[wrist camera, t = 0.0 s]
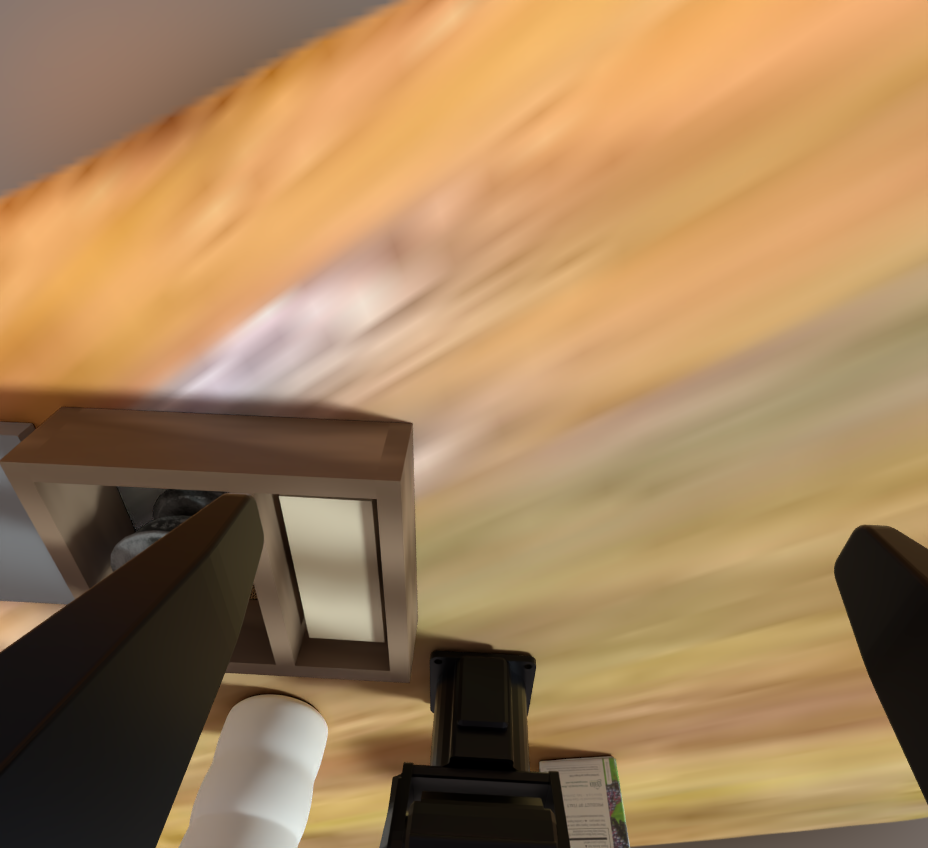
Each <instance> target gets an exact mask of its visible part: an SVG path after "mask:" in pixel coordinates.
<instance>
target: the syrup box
mask: <svg viewBox="0 0 928 848" xmlns="http://www.w3.org/2000/svg"><path fill="white" fill-rule="evenodd" d="M549 771H558V772H559V777H560V783H561V790H562V796H563V802H564V809H565V815H566V821H567V828H568V834H569V840H570V847H571V848H630V845H629V839H628V833H627V827H626V820H625V814H624V807H623V801H622V795H621V789H620V783H619V777H618V771H617V765H616V759H615V758H614V757H612V756H607V757H592V758H575V759H563V760H551V761H540V762H539V772H547V773H548V772H549Z"/></svg>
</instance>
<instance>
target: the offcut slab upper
mask: <svg viewBox="0 0 928 848" xmlns="http://www.w3.org/2000/svg"><path fill="white" fill-rule="evenodd" d="M279 499H280V503H281V508H282V513H283V517H284V522H285V527H286V531H287V536H288V541H289V545H290V550H291V555H292V559H293V564H294V568H295V573H296V578H297V582H298V587H299V592H300V596H301V601H302V606H303V610H304V615H305V620H306V624H307V629H308V633H309V638H324V639H340V640H355V641H371V642H385V637H386V632H387V624H386V612H385V599H384V586H383V573H382V561H381V548H380V535H379V523H378V510H377V499H365V498H345V497H324V496H304V495H284V494H280V495H279Z"/></svg>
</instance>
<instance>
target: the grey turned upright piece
mask: <svg viewBox="0 0 928 848" xmlns="http://www.w3.org/2000/svg"><path fill="white" fill-rule="evenodd" d="M223 494H225V493H223V492H221V491H204V490H183V489H169V490H167V491H166V492H164V493H163V494H162V495H161V496H159V498H158V499H157V501H156V503H155V505H154V511H153V517H154V520H153V521H152V522H150V523H148V524H146V525H145V526H143V527H141V528H140V529H139V530H137V531H136V532H135V533H133V534H132V535H129V536H126V537H125V538H123V539H122V540H121V541H120V542H118V543H117V544H116V545H115V547H114V549H113V551H112V553H111V563H110V565H111V568H112V571H113V572H114V571H116V570H117V569H118V568H120V567H121V566H123V565H124V564H125V563H127V562H128V561H130V560H131V559H132V558H134V557H135V556H137V555H138V554H139V553H141V552H142V551H144V550H145V549H147V548H148V547H149V546H151V545H152V544H154V543H155V542H156V541H158V540H159V539H161V538H162V537H163V536H165V535H166V534H168V533H169V532H170V531H172V530H173V529H175V528H176V527H178V526H179V525H180V524H182V523H183V522H185V521H186V520H187V519H189V518H190V517H192V516H193V515H194V514H196V513H197V512H199V511H200V510H201V509H203V508H204V507H206V506H207V505H209V504H210V503H211V502H213V501H214V500H216V499H217V498H218V497H220V496H221V495H223Z"/></svg>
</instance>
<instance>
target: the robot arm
mask: <svg viewBox="0 0 928 848" xmlns="http://www.w3.org/2000/svg"><path fill="white" fill-rule="evenodd" d="M263 545H264V531H263V527H262V523H261V519H260V515H259V510H258V506H257V502H256V500H255V498H254V496H252V495H250V494H242V493H226V494H223V495H221V496H220V497H218V498H217V499H216V500H214V501H213V502H211V503H210V504H209V505H207V506H206V507H204V508H203V509H201V510H200V511H199V512H197V513H196V514H194V515H193V516H192V517H190V518H189V519H187V520H186V521H185V522H183V523H182V524H180V525H179V526H178V527H176V528H175V529H173V530H172V531H170V532H169V533H168V534H166V535H165V536H163V537H162V538H161V539H159V540H158V541H156V542H155V543H154V544H152V545H151V546H149V547H148V548H147V549H145V550H144V551H142V552H141V553H139V554H138V555H137V556H135V557H134V558H132V559H131V560H130V561H128V562H127V563H125V564H124V565H123V566H121V567H120V568H118V569H117V570H116V571H114V572H113V573H111V574H110V575H108V576H107V577H106V578H104V579H103V580H101V581H100V582H99V583H97V584H96V585H94V586H93V587H92V588H90V589H89V590H87V591H86V592H85V593H83V594H82V595H80V596H79V597H77V598H76V599H75V600H73V601H72V602H70V603H69V604H68V605H66V606H65V607H63V608H62V609H61V610H59V611H58V612H56V613H55V614H54V615H52V616H51V617H49V618H48V619H46V620H45V621H44V622H42V623H41V624H39V625H38V626H37V627H35V628H34V629H32V630H31V631H30V632H28V633H27V634H25V635H24V636H23V637H21V638H20V639H18V640H17V641H15V642H14V643H13V644H11V645H10V646H8V647H7V648H6V649H4V650H3V651H1V652H0V848H156V845H157V843H158V840H159V838H160V835H161V833H162V830H163V828H164V825H165V823H166V820H167V818H168V815H169V813H170V810H171V808H172V805H173V803H174V800H175V798H176V795H177V792H178V790H179V787H180V785H181V782H182V780H183V777H184V775H185V772H186V770H187V767H188V765H189V762H190V760H191V757H192V755H193V752H194V750H195V747H196V745H197V742H198V740H199V737H200V735H201V732H202V730H203V727H204V725H205V722H206V719H207V717H208V714H209V712H210V709H211V707H212V704H213V702H214V699H215V697H216V694H217V692H218V689H219V687H220V684H221V682H222V679H223V677H224V674H225V672H226V669H227V667H228V664H229V662H230V659H231V657H232V654H233V651H234V648H235V646H236V643H237V640H238V637H239V634H240V630H241V627H242V623H243V620H244V616H245V612H246V609H247V605H248V601H249V598H250V594H251V590H252V587H253V583H254V579H255V576H256V572H257V568H258V565H259V561H260V557H261V554H262V550H263ZM834 574H835V579H836V582H837V585H838V588H839V591H840V594H841V597H842V600H843V603H844V606H845V609H846V612H847V615H848V618H849V621H850V623H851V626H852V629H853V632H854V635H855V638H856V641H857V644H858V647H859V650H860V653H861V656H862V659H863V661H864V664H865V667H866V669H867V672H868V675H869V677H870V679H871V682H872V684H873V686H874V689H875V691H876V693H877V695H878V698H879V700H880V702H881V704H882V706H883V708H884V711H885V713H886V715H887V717H888V719H889V721H890V724H891V726H892V728H893V730H894V732H895V735H896V737H897V739H898V741H899V743H900V745H901V748H902V750H903V752H904V754H905V756H906V758H907V761H908V763H909V765H910V767H911V769H912V772H913V774H914V776H915V778H916V780H917V782H918V785H919V787H920V789H921V791H922V793H923V795H924V798H925V800H926V802H927V804H928V549H927V548H925V547H924V546H922V545H921V544H919V543H917V542H916V541H914V540H912V539H911V538H909V537H908V536H906V535H904V534H903V533H901V532H900V531H898V530H896V529H894V528H892V527H889V526H879V525H861V526H859V527H857V528H856V529H855V530H854V531H853V533H852V534H851V536H850V538H849V539H848V541H847V543H846V544H845V546H844V548H843V550H842V551H841V553H840V555H839V556H838V558H837V560H836V562H835V566H834ZM535 671H536V660H535V658H534V657H532V656H521V655H502V654H484V653H466V652H447V651H435V652H433V653H431V656H430V710H431V711H432V712H433V713H434V721H433V733H432V745H431V756H430V766H426V765H414V764H413V763H406V762H404V765H403V771H402V773H401V774H400V775H398V776H395V777H393V779H392V786H391V794H390V801H389V807H388V813H387V818H386V822H385V826H384V830H383V835H382V839H381V843H380V847H379V848H571V847H570V840H569V834H568V828H567V821H566V815H565V809H564V802H563V796H562V790H561V783H560V777H559V772H558V771H549V772H548V773H547V772H530V766H529V746H528V726H527V716H528V711H529V705H530V700H531V694H532V688H533V682H534V677H535Z"/></svg>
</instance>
